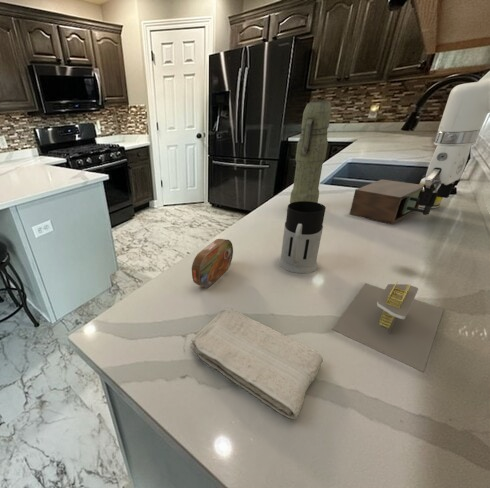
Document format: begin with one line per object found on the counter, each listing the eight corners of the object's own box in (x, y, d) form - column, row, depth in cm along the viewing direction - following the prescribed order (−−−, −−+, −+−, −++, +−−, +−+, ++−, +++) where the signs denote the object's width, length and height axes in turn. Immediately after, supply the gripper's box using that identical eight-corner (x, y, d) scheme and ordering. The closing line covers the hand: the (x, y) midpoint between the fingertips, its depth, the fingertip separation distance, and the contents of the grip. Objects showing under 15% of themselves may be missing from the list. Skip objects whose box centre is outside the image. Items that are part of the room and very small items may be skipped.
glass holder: (319, 258, 66) (330, 202, 59) (311, 290, 55) (324, 226, 49) (282, 252, 70) (289, 198, 63) (269, 280, 60) (275, 220, 53)
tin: (201, 294, 58) (200, 262, 54) (190, 289, 60) (188, 258, 56) (234, 263, 67) (234, 234, 64) (223, 260, 69) (223, 232, 66)
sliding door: (435, 213, 79) (443, 193, 76) (425, 219, 76) (432, 199, 73) (411, 208, 83) (417, 190, 81) (401, 214, 81) (407, 195, 78)
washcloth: (224, 313, 52) (224, 301, 50) (324, 363, 40) (328, 349, 39) (186, 352, 45) (185, 339, 43) (294, 426, 33) (298, 412, 32)
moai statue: (320, 205, 96) (340, 98, 80) (310, 216, 89) (330, 100, 73) (295, 202, 102) (308, 101, 86) (284, 212, 94) (296, 103, 78)
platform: (332, 329, 46) (339, 300, 43) (365, 283, 56) (373, 256, 53) (423, 372, 37) (441, 339, 34) (443, 308, 47) (458, 279, 44)
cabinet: (417, 211, 84) (426, 185, 80) (391, 224, 78) (400, 197, 74) (374, 202, 94) (381, 179, 90) (349, 214, 87) (355, 189, 83)
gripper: (462, 144, 61) (437, 212, 68) (489, 132, 67) (463, 196, 75) (421, 143, 67) (402, 206, 74) (450, 132, 73) (429, 191, 81)
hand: (433, 201), depth 75 cm, fingers open, 9 cm apart
